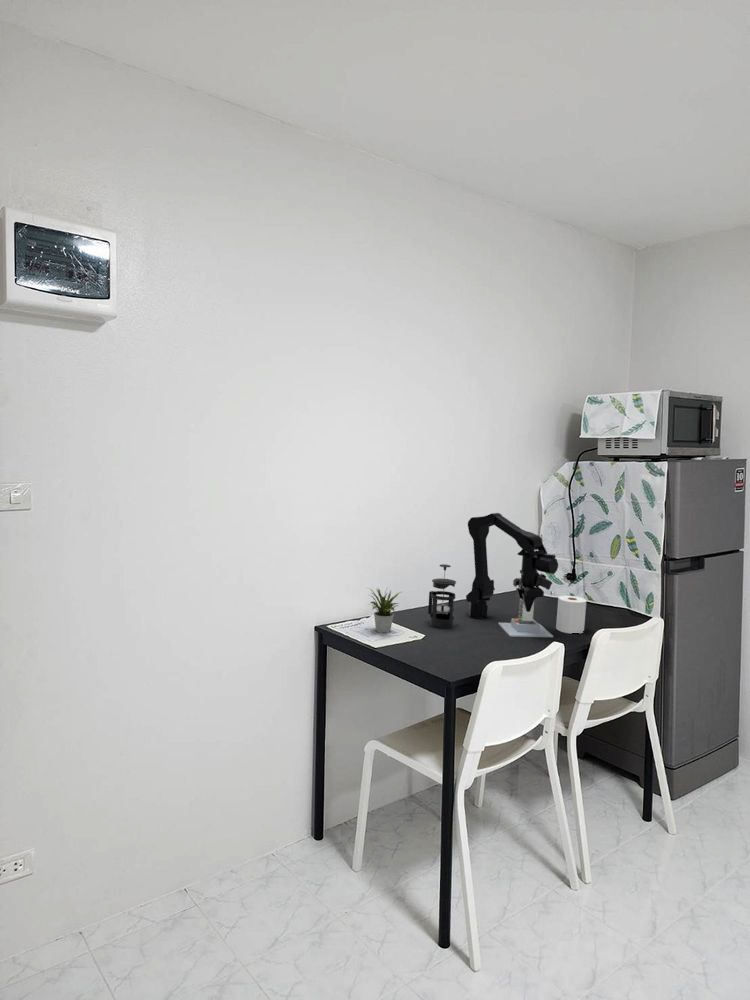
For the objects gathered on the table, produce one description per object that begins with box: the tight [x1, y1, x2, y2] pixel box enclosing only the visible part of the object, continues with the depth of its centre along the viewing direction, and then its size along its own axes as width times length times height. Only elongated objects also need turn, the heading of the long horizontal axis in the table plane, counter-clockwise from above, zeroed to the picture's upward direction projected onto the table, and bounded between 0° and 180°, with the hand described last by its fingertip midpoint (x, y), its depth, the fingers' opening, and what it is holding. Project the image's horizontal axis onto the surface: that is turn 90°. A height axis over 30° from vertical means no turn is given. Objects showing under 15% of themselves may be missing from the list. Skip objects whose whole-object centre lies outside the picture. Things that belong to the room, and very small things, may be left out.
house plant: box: [367, 586, 403, 633], centre depth 254 cm, size 14×14×16 cm
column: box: [517, 598, 535, 621], centre depth 263 cm, size 5×4×8 cm
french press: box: [427, 563, 457, 630], centre depth 265 cm, size 12×9×23 cm
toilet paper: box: [555, 595, 587, 634], centre depth 267 cm, size 10×10×12 cm
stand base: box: [498, 618, 554, 638], centre depth 263 cm, size 16×16×4 cm
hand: (526, 610), depth 263 cm, fingers closed on column, 4 cm apart
